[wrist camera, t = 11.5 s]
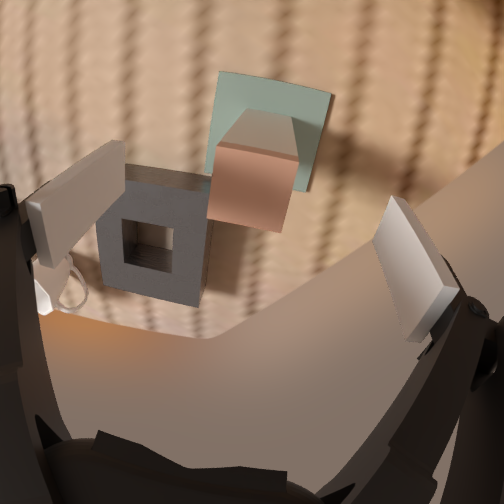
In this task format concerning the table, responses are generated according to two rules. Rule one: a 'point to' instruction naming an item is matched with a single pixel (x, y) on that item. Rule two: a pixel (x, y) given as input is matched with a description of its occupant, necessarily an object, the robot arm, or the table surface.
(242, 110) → the mat
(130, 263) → the grey square holder
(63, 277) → the cup
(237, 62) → the table surface
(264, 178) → the plug
